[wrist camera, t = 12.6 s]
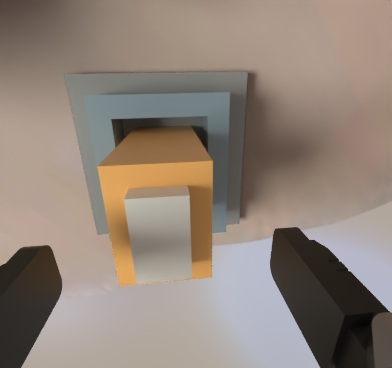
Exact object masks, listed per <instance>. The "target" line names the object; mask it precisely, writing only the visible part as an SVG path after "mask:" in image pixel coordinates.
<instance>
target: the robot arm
mask: <svg viewBox="0 0 392 368" xmlns="http://www.w3.org/2000/svg"><path fill="white" fill-rule="evenodd" d="M270 268H271V273H272V276H273V279H274V281H275V283H276V285H277V287H278V288H279V290H280V292H281V294H282V296H283V298H284V300H285V302H286V304H287V306H288V307H289V309H290V311H291V313H292V315H293V317H294V319H295V321H296V323H297V325H298V326H299V328H300V330H301V332H302V334H303V336H304V338H305V340H306V342H307V343H308V345H309V347H310V349H311V351H312V353H313V355H314V356H315V359H316V360H317V362H318V364H319V366H320V368H392V313H391V312H389V311H388V310H387V309H386V308H385V307H384V306H383V305H382V303H380V301H379V300H378V299H377V298H376V297H375V296H374V295H373V294H372V293H371V292H370V291H369V290H368V289H367V288H366V287H365V286H364V285H363V284H362V283H361V282H360V281H359V280H358V279H357V278H356V277H355V276H354V275H353V274H352V273H351V272H349V271H348V269H347V268H346V267H345V266H344V264H342V262H339V259H338V258H336V256H335V255H334V254H333V253H332V252H331V251H330V250H329V249H328V248H326V247H325V246H323V245H321V244H319V243H318V242H316V241H315V240H309V239H308V238H307V237H306V236H305V235H304V234H303V232H302V231H301V230H300V229H299V228H297V227H292V228H278V229H275V231H274V234H273V242H272V251H271V260H270ZM61 290H62V279H61V276H60V273H59V270H58V266H57V263H56V260H55V257H54V254H53V251H52V249H51V247H50V246H48V245H45V246H31V247H23V248H21V249H19V250H18V251H17V252H16V253H15V254H14V255H13V256H12V257H11V258H10V260H9V261H8V262H7V263H6V264H3V265H1V266H0V368H21V367H22V365H23V363H24V361H25V359H26V358H27V356H28V354H29V352H30V350H31V348H32V347H33V345H34V343H35V341H36V339H37V337H38V336H39V334H40V332H41V330H42V328H43V327H44V325H45V323H46V321H47V319H48V317H49V315H50V314H51V312H52V310H53V308H54V307H55V305H56V303H57V301H58V299H59V297H60V294H61Z"/></svg>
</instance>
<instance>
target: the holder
mask: <svg viewBox="0 0 392 368" xmlns="http://www.w3.org/2000/svg"><path fill="white" fill-rule="evenodd" d="M64 77H65V82H66V86H67V91H68V96H69V101H70V106H71V110H72V115H73V120H74V125H75V129H76V134H77V139H78V144H79V149H80V153H81V158H82V163H83V168H84V173H85V177H86V182H87V187H88V192H89V196H90V201H91V206H92V211H93V216H94V220H95V225H96V230H97V234H108V233H109V228H108V222H107V217H106V211H105V206H104V200H103V195H102V190H101V184H100V179H99V173H98V168H97V166H98V165H99V164H100V163H101V162H102V161H103V160H104V159H105V158H106V157H107V156H108V155H109V154H110V153H111V152H112V151H113V150H114V149H115V148H116V147H117V146H118V145H119V144H120V143H121V142H122V141H123V140H124V139H125V138H126V137H127V136H128V135H129V134H130V133H131V132H132V131H133V130H134V129H135V128H136V127H154V126H184V125H190V126H191V127H192V129H193V130H194V132H195V133H196V135H197V137H198V138H199V140H200V141H201V143H202V145H203V146H204V148H205V149H206V151H207V152H208V154H209V156H210V157H211V159H212V160H213V201H212V233H219V232H226V225H229V224H239V219H240V202H241V184H242V166H243V148H244V131H245V113H246V95H247V77H248V71H242V72H169V73H97V74H64ZM109 237H110V233H109ZM110 241H111V238H110Z"/></svg>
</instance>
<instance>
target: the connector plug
mask: <svg viewBox="0 0 392 368" xmlns="http://www.w3.org/2000/svg"><path fill="white" fill-rule="evenodd" d="M97 168H98V173H99V179H100V184H101V190H102V195H103V200H104V206H105V211H106V217H107V222H108V228H109V233H110V238H111V244H112V249H113V255H114V260H115V266H116V271H117V276H118V282H119V286H125V285H136V284H147V283H157V282H168V281H178V280H189V279H200V278H210V277H212V201H213V160H212V159H211V157H210V156H209V154H208V152H207V151H206V149H205V148H204V146H203V145H202V143H201V141H200V140H199V138H198V137H197V135H196V133H195V132H194V130H193V129H192V127H191V126H190V125H184V126H154V127H136V128H135V129H134V130H133V131H132V132H131V133H130V134H129V135H128V136H127V137H126V138H125V139H124V140H123V141H122V142H121V143H120V144H119V145H118V146H117V147H116V148H115V149H114V150H113V151H112V152H111V153H110V154H109V155H108V156H107V157H106V158H105V159H104V160H103V161H102V162H101V163H100V164H99V165H98V166H97Z"/></svg>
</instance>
